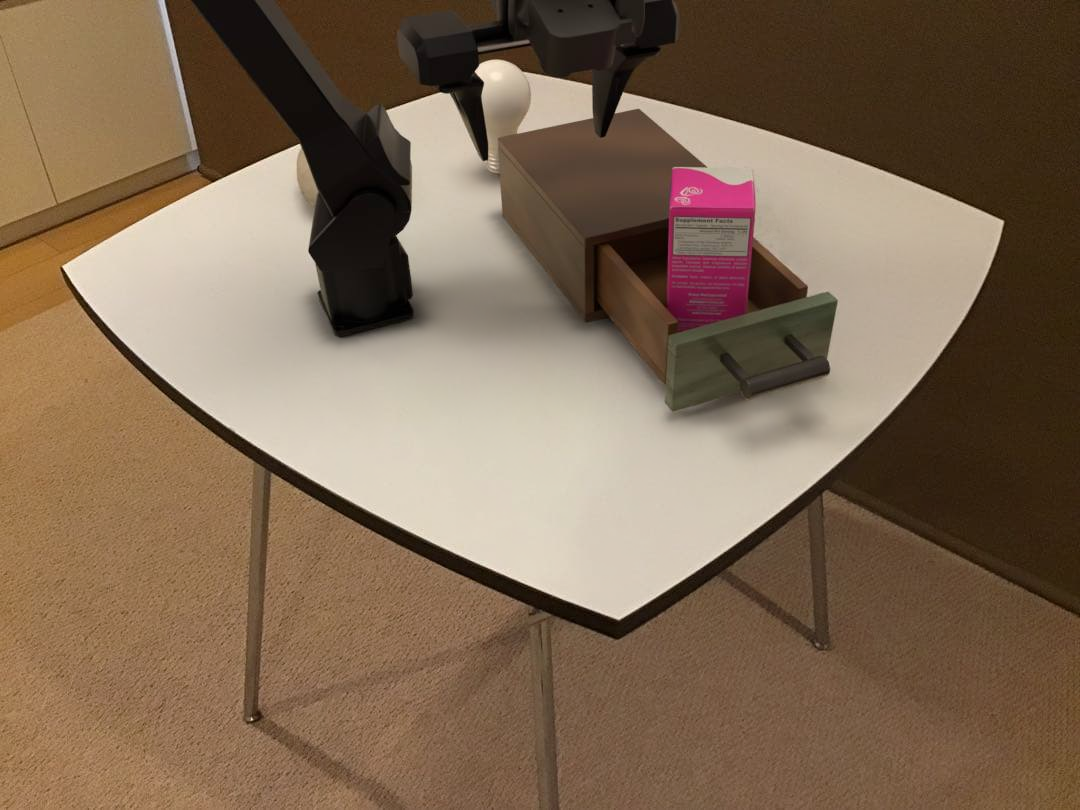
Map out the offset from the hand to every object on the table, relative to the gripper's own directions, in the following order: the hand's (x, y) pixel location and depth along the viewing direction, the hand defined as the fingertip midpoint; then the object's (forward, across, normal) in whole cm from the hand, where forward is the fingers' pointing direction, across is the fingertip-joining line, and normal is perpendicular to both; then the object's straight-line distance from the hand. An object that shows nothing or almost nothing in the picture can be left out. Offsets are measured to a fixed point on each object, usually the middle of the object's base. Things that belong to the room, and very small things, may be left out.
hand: (542, 147), depth 76 cm
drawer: (+12, +8, -12) cm, 19 cm away
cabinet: (+13, +8, +4) cm, 16 cm away
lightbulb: (+13, +4, +21) cm, 25 cm away
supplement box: (+11, +8, -11) cm, 18 cm away
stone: (+13, -12, +24) cm, 30 cm away
